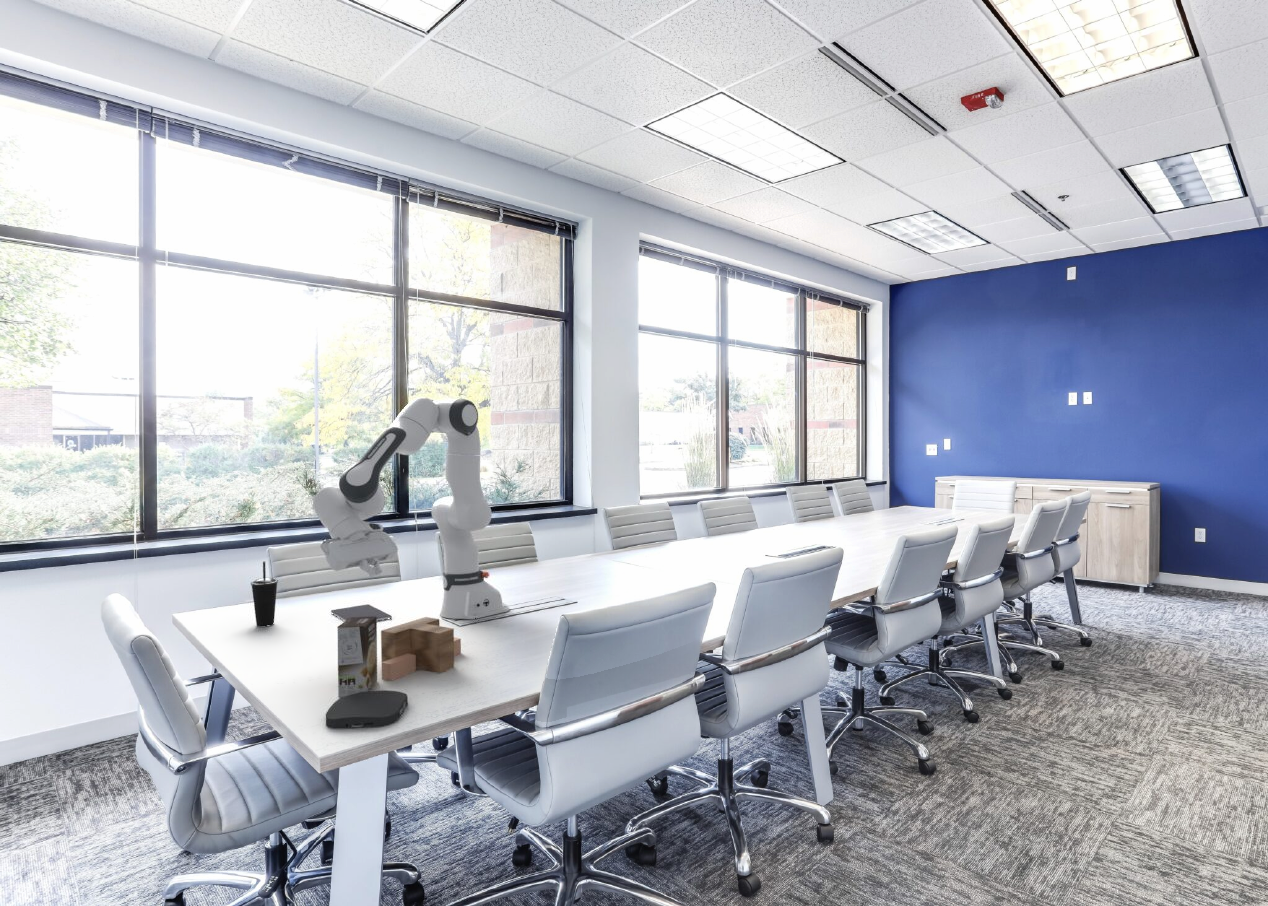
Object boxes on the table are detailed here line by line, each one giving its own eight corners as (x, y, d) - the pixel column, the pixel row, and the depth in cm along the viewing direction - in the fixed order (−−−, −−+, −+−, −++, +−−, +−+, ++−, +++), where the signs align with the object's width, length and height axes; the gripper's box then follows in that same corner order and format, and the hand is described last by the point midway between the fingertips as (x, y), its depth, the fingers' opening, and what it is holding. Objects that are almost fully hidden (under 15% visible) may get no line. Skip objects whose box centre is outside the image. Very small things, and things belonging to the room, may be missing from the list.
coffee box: (366, 696, 156) (365, 626, 156) (337, 697, 156) (336, 627, 155) (378, 682, 165) (377, 615, 165) (350, 683, 165) (349, 616, 165)
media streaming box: (344, 703, 153) (344, 690, 153) (411, 701, 154) (411, 687, 154) (319, 731, 139) (319, 716, 139) (394, 728, 140) (393, 714, 140)
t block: (381, 669, 174) (381, 630, 174) (426, 653, 187) (425, 616, 187) (424, 679, 167) (423, 638, 167) (467, 662, 180) (467, 623, 180)
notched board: (381, 678, 168) (381, 662, 168) (452, 651, 189) (452, 637, 189) (390, 680, 166) (390, 664, 166) (460, 653, 187) (460, 638, 187)
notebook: (391, 620, 224) (368, 608, 240) (391, 615, 224) (368, 604, 240) (351, 627, 216) (330, 614, 232) (351, 622, 216) (330, 610, 232)
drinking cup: (267, 628, 213) (265, 564, 213) (245, 627, 215) (244, 563, 214) (284, 622, 221) (283, 559, 220) (263, 621, 222) (262, 559, 222)
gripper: (322, 533, 180) (349, 574, 175) (385, 523, 198) (411, 560, 193) (312, 549, 182) (338, 589, 178) (375, 538, 200) (400, 574, 196)
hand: (376, 574), depth 186 cm, fingers closed
